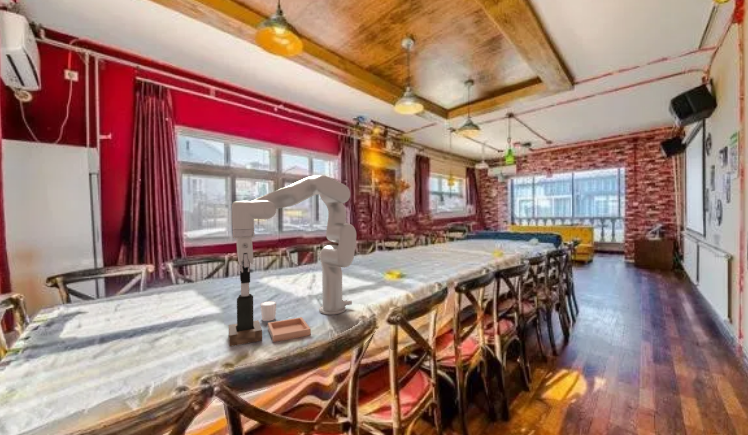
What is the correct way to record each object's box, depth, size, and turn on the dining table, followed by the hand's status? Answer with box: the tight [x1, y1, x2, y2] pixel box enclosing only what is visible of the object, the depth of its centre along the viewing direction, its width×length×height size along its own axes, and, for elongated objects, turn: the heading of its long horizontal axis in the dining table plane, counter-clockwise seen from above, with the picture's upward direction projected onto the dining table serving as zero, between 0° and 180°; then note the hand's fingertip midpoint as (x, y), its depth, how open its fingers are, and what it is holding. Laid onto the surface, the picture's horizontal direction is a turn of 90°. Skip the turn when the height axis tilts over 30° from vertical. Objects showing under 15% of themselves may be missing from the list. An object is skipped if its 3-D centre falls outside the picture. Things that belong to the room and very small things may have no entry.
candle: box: [236, 282, 254, 332], centre depth 117 cm, size 5×5×25 cm
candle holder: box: [228, 319, 263, 347], centre depth 117 cm, size 11×11×4 cm
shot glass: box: [260, 300, 277, 322], centre depth 138 cm, size 7×7×7 cm
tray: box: [267, 316, 312, 343], centre depth 123 cm, size 14×14×2 cm
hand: (245, 281), depth 117 cm, fingers closed on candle, 2 cm apart
